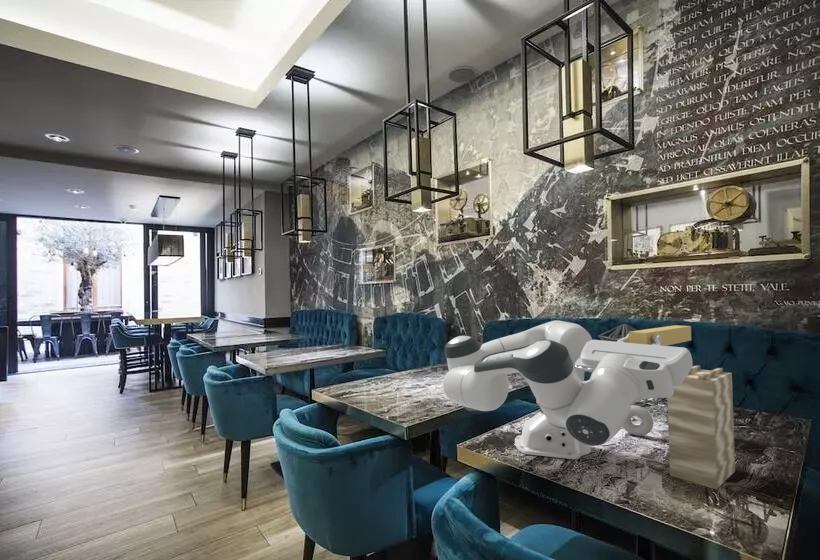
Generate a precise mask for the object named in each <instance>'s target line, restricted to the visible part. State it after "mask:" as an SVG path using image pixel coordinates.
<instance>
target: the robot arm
mask: <svg viewBox="0 0 820 560" xmlns="http://www.w3.org/2000/svg"><path fill="white" fill-rule="evenodd" d="M627 333H628V332H627ZM627 333H626V335H627V336H624V338H622V337H621V338H622V339H620V340H616V342H615V340H612V341H611V340H610V341H609V340H608V341H605V340H604V341H602V340H601V339H593V338H592V336H591V334H590V332H588V331H587V330H586V329H585V328H584V327H583V326H581V325H580V324H577V323H574V322H569V321H562V320H558V319H557V320H550V321H548V322H545V323H542V324H539V325H537V326H534V327H531V328H529V329H528V328H527V330H524V331H519V332H517V333H514V334H509V335H507V336H503V337H499V338H496V339H492V340H490V341H487V342H484V343H482V342H481V341H480V342H479V341H478V339H476V338H475V337H473V336H472V335H471V336H470V335H458V336H456V337H453V338H452V339H451V340H449V341H448V342H446V343H445V345H444V357H445V358H446V363H447V368H448V371H447V372H446V374H445V376H444V378H443V381H442V389H443V393H444V395H445V396H446V397H447V398H448V399H449V400H450V401H452V402H453V403H456V404H458V405H460V406H461V407H462V408H463V409H465V410H467V411H469V412H475V411H481V412H491V411H495V410H497V409H498V408H499V407H501V406H502V405H503V404H504V403H505V401H506V399H507V397H508V395H509V391H510V389H509V388H510V383H509V378H508V374H509V375H510V374H517V373H518V374H519V375H520V376H522V378H523V379H524V380H525V381H526V382H527V384H528V386H529V388H530V390H531V392H532V394H533V396H534V397H535V399H536V401H535V402H536V404H537V406H538V407H539V412H537V413H536V414H535V415H533V416H532V417H530V418H528V419H527V420H526V421H525V422H524V423H523V426H522V429H521V430H522V431H521V434H519V435H517V436H516V437H515V438H514V445H515V448H516V449H517V450H518V451H519V452H521V453H522V454H525V455H532V456H541V457H542V456H543V457H547V458H548V457H550V458H559V459H568V460H579V459H580V458H581V457H583V456H586V455H589V454H590V453H591V452H592V448H591V447H592V446H595V447H599V446H602V445H605V444H607V442H610V441H611V440H612V439H613V438H614V437H615V436H616V434H618V433H619V431H620V430H621V429H622V428H623V427H622V425H623V424H624V422H625V421H626V419H627V417H628V415H629V413H630V409H631V405H632V404H636V403H635V402H638V401H641V399H647V398H648V399H661V398H667V399H668V397H671V396H672V395H673V394H674V386H677V385H679V384H681V383H682V382H683V381H684V379H685V378H686V377H687V375H688V374H689V372H690V370H691V368H692V367H693V366H694V364H693V358H692V353H691V352H690V350H689V349H688V348H686V347H684V346H683V347H682V346H680V347H679V346H673V345H667V346H661V345H660V344H661V343H662V339H661V336H660V335H652V337H651V338H650V341H651V342H652V343H651V344H652V345H649V344H637V343H629V333H628V334H627ZM586 372H587V373H589V374H591V375H590V377H589V379H588V380H585V373H586Z"/></svg>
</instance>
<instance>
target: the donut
mask: <svg viewBox="0 0 820 560" xmlns="http://www.w3.org/2000/svg"><path fill="white" fill-rule="evenodd" d="M636 405H637V404H636ZM636 405H631V409H630V413H629V415H628V417H627V419H626V421H625V422H624V424H623V425H622V427H621V428H623V429H624V430H625V431H626V433H629V434H631V435H633V436H635V437H636V436H637V437H644V436H646V435H648V434H649V433H651V431H652V430H653V428H654V421H653V417H652V415H651V413H650V412H649V411H648V410H647V409H645V408H644V407H643V406H642V407H640V406H636ZM634 416H636V417H637V418H639V419H640V420H641V423H640V424H639V425H637V424H634V423H633V421H631V419H632V417H634Z"/></svg>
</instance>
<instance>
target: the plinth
mask: <svg viewBox="0 0 820 560" xmlns="http://www.w3.org/2000/svg"><path fill="white" fill-rule="evenodd" d="M732 374H733V373H732V372H727V371H726V372H725V371H724V368H723V367H717V368H714V369H711V370H708V369H702V368H701V365H698V364H697V365H692V368H691V370H690V372H689V374H688V375H687V377H686V378H685V379H684V381H683V382H682V383H681V384H679V385H677V386H674V394H673V395H672V396H671V397H668V398H667V423H668V425H667V427H668V429H667V430H668V455H669V456H668V457H669V461H668V462H669V476H671V477H674V478H678V479H680V480H685V481H687V482H691V483H693V484H697V485H700V486H703V487H706V488H710V489H714V490H718V489H719V487H721V485H723V483H725V482H726V481H727V480H728V479H729V478H730V477H731V476H732V475H733V474H734V473H735V472H736V458H735V457H736V454H735V453H736V452H735V450H736V449H735V425H734V403H733V401H734V400H733V375H732Z"/></svg>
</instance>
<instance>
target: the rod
mask: <svg viewBox="0 0 820 560" xmlns="http://www.w3.org/2000/svg"><path fill="white" fill-rule="evenodd" d="M637 330H638V329H637ZM652 335H660V336H661V339H662V343H661V344H660V345H661V346H673V345H676V344H681V343H684V342H690V341H692V326H691V325H676V324H675V325H667V326H662V327H661V326H660V327H654V328H653V327H652V328H645V329H639V330H638V331H634V330H632V331H631V332H629V343H637V344H649V345H652V344H651V343H652V342H651V341H650V338H651V337H652Z"/></svg>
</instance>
